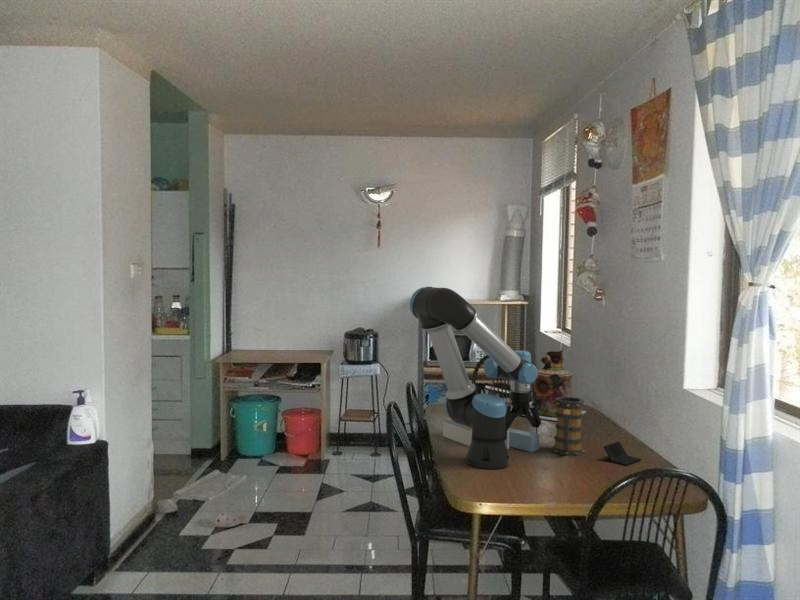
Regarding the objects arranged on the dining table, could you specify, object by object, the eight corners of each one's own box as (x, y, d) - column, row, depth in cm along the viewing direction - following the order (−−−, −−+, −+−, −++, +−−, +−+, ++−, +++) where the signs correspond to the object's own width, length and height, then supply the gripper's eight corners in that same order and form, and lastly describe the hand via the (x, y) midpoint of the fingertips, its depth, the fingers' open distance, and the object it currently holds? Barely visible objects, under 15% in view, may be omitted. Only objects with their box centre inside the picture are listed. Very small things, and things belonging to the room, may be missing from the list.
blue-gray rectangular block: (531, 452, 248) (531, 436, 248) (499, 444, 259) (499, 429, 259) (539, 450, 252) (539, 434, 251) (507, 442, 262) (507, 427, 262)
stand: (469, 446, 254) (470, 427, 254) (442, 436, 269) (443, 418, 269) (497, 442, 261) (498, 423, 261) (470, 432, 277) (470, 415, 276)
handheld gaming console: (632, 463, 230) (617, 437, 235) (615, 472, 234) (600, 447, 238) (643, 460, 239) (628, 436, 244) (626, 470, 243) (612, 445, 247)
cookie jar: (539, 408, 330) (540, 344, 329) (587, 415, 316) (589, 349, 314) (517, 416, 310) (519, 348, 309) (567, 424, 296) (569, 353, 294)
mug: (586, 449, 253) (588, 397, 252) (583, 461, 237) (585, 406, 236) (552, 446, 257) (554, 395, 256) (546, 457, 241) (548, 403, 240)
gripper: (501, 395, 245) (500, 452, 246) (551, 389, 257) (550, 443, 258) (488, 392, 251) (487, 447, 252) (537, 386, 264) (536, 439, 265)
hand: (519, 445), depth 255 cm, fingers open, 13 cm apart
